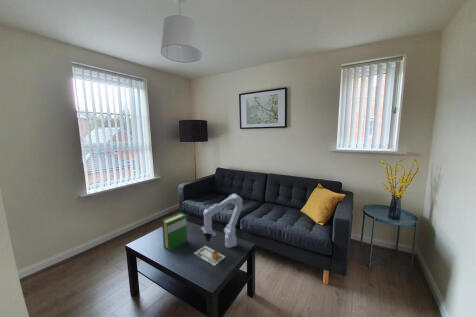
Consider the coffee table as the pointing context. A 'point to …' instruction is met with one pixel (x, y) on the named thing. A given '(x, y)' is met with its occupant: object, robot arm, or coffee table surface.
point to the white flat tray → (208, 255)
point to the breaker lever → (215, 255)
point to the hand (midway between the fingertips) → (208, 241)
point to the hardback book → (174, 231)
